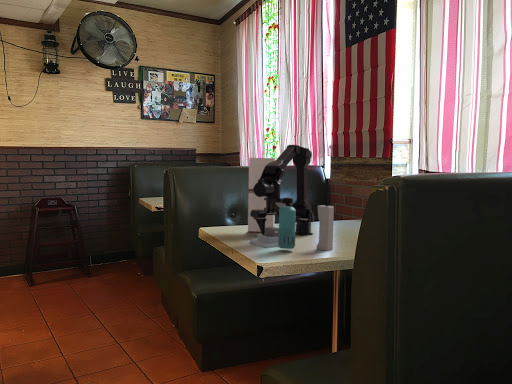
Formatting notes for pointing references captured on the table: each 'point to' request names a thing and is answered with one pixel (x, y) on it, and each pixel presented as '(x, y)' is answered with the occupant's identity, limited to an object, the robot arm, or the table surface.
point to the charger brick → (271, 231)
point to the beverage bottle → (287, 225)
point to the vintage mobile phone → (325, 226)
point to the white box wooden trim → (254, 201)
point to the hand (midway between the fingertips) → (272, 233)
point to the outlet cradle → (266, 241)
